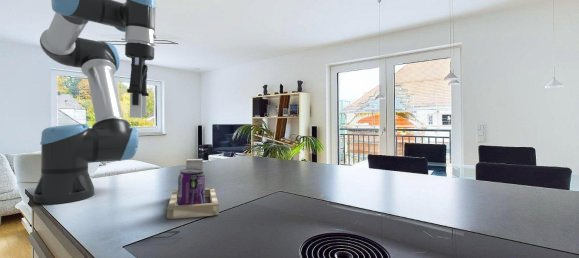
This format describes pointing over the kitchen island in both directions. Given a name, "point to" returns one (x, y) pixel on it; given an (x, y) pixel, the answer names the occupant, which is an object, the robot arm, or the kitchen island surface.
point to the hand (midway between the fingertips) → (138, 117)
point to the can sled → (193, 209)
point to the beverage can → (191, 186)
